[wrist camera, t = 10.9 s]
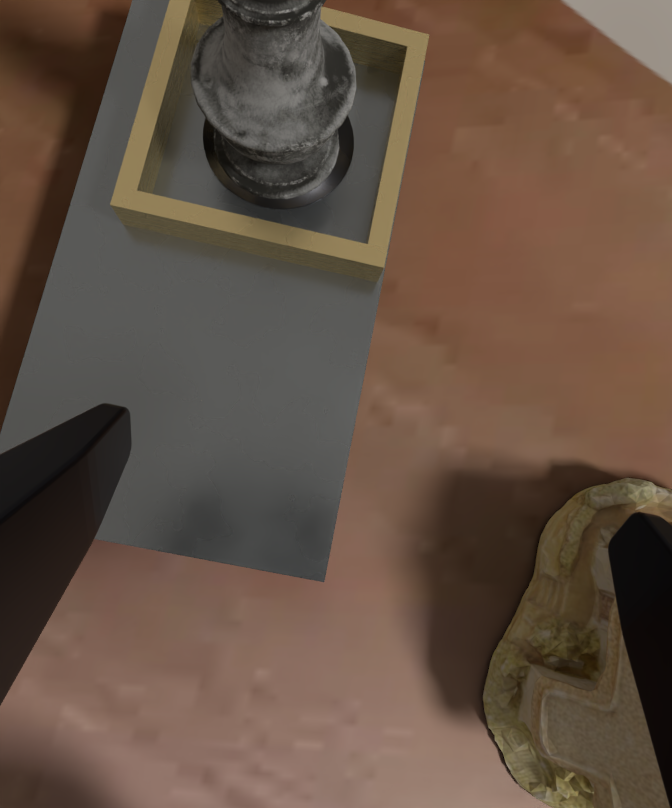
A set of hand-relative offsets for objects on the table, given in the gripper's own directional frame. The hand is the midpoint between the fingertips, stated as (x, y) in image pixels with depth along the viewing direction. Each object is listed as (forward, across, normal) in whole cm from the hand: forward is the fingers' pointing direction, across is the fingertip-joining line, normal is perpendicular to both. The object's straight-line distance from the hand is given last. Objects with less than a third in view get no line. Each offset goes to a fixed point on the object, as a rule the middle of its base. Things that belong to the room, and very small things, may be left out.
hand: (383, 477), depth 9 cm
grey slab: (+15, +6, +4) cm, 17 cm away
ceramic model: (+7, -14, +13) cm, 20 cm away
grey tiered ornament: (+17, +5, -2) cm, 18 cm away
